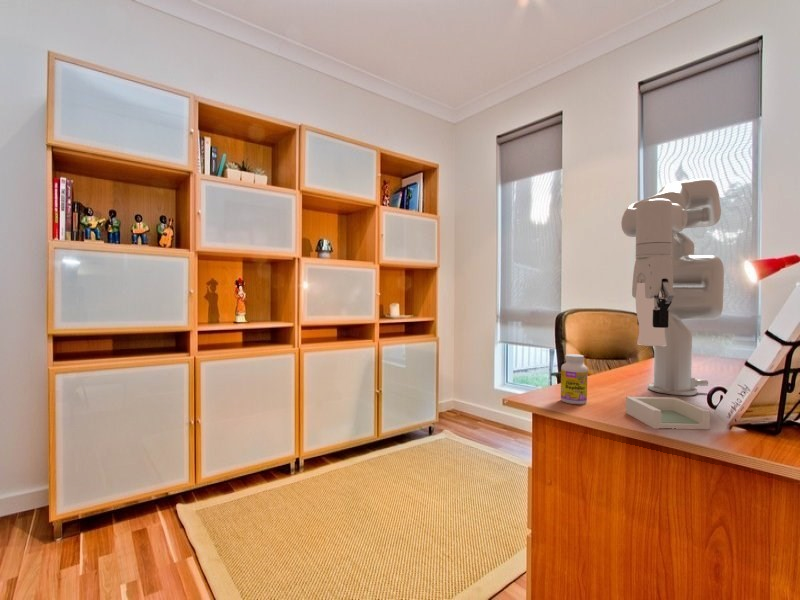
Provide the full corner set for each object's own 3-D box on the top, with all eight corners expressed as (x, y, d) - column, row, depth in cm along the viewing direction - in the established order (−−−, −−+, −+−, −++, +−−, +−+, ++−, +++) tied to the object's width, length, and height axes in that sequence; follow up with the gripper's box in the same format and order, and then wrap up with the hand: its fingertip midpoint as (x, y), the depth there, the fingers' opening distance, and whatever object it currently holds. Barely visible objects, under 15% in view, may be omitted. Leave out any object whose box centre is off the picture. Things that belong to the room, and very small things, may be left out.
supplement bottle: (561, 403, 111) (561, 356, 111) (560, 397, 117) (560, 352, 117) (588, 406, 109) (588, 357, 109) (585, 400, 115) (586, 354, 115)
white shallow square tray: (675, 413, 102) (675, 397, 102) (709, 429, 90) (709, 411, 90) (625, 412, 103) (626, 396, 103) (653, 428, 91) (654, 410, 91)
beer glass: (673, 347, 96) (674, 282, 95) (640, 346, 97) (641, 282, 97) (662, 344, 102) (663, 283, 102) (631, 343, 104) (632, 283, 104)
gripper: (620, 255, 108) (619, 323, 109) (657, 247, 91) (655, 329, 91) (650, 255, 108) (649, 324, 108) (692, 247, 91) (691, 329, 91)
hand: (652, 325), depth 100 cm, fingers closed on beer glass, 6 cm apart
